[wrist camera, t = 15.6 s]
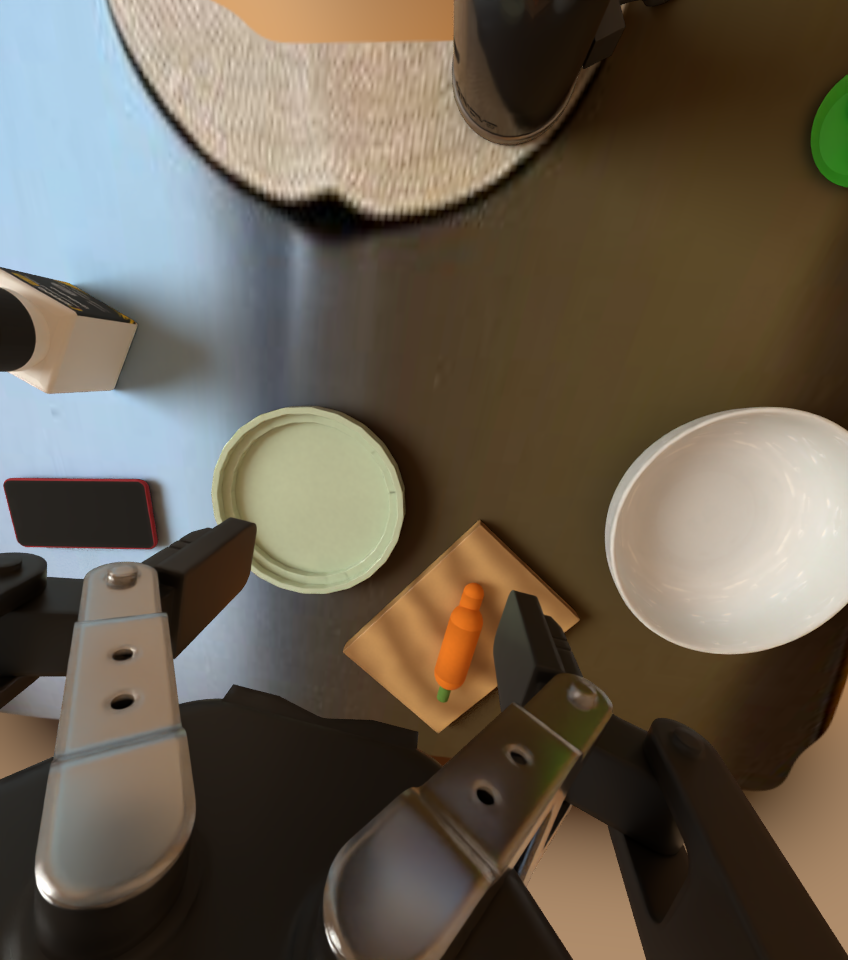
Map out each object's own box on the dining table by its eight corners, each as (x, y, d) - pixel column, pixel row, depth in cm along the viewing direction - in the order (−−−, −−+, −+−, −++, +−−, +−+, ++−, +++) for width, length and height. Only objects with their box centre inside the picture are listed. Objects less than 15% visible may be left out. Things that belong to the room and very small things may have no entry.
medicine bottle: (140, 323, 39) (10, 302, 28) (115, 391, 41) (-18, 399, 29) (68, 281, 39) (-94, 243, 27) (46, 352, 41) (-117, 345, 29)
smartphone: (156, 549, 44) (17, 547, 45) (162, 546, 45) (26, 543, 46) (144, 480, 42) (0, 478, 43) (150, 477, 43) (9, 476, 44)
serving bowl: (681, 650, 44) (722, 699, 37) (539, 514, 41) (556, 541, 35) (866, 511, 39) (951, 540, 33) (719, 349, 37) (778, 344, 30)
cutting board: (479, 519, 42) (480, 524, 40) (576, 611, 44) (580, 620, 42) (345, 643, 46) (342, 652, 45) (438, 722, 48) (438, 733, 47)
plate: (303, 363, 39) (293, 363, 37) (444, 498, 42) (444, 505, 39) (189, 498, 43) (174, 505, 41) (324, 614, 46) (317, 627, 43)
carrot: (459, 575, 42) (461, 591, 39) (491, 583, 42) (495, 600, 39) (427, 683, 45) (426, 706, 42) (456, 690, 45) (458, 714, 42)
